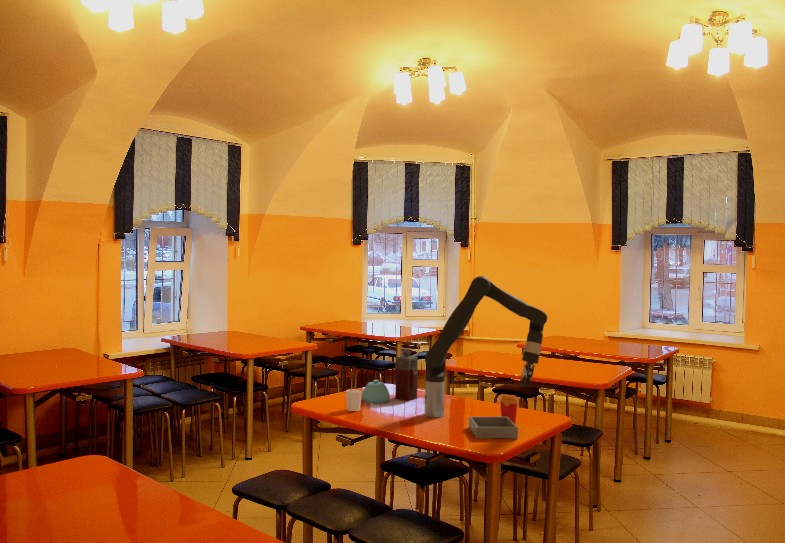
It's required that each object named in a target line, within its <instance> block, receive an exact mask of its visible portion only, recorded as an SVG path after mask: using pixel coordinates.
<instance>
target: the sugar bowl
mask: <svg viewBox="0 0 785 543" xmlns="http://www.w3.org/2000/svg"><path fill="white" fill-rule="evenodd" d="M390 396H391V395H390V391H389V389H388V388H387V385H386V384H385V383H384V382H380V381H379V379H373V381H369V382H368V383H367V384H366V386H365V387H364V388H363V390H362V392H361V400H362V401H363V402H364V403H366V402H367V404H370V403H373V404H372V405H378V403H383V404H386V403H387V402H388V401H389V400H390V399H391V398H390ZM385 402H386V403H385Z"/></svg>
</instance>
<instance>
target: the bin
mask: <svg viewBox="0 0 785 543" xmlns="http://www.w3.org/2000/svg"><path fill="white" fill-rule="evenodd" d="M469 428H470V429H469ZM468 429H469V430H470V432H471V433H472V434H473V436H474V435H475V436H474V437H475V439H476V438H477V439H476V440H486V439H485V438H508V439H507V440H517V439H519V436H518V435H519V427H518V425H516V423H513V422H512V421H511V420H510V419H509V418H508V417H501V416H468ZM478 438H480V439H478ZM482 438H484V439H482Z"/></svg>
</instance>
